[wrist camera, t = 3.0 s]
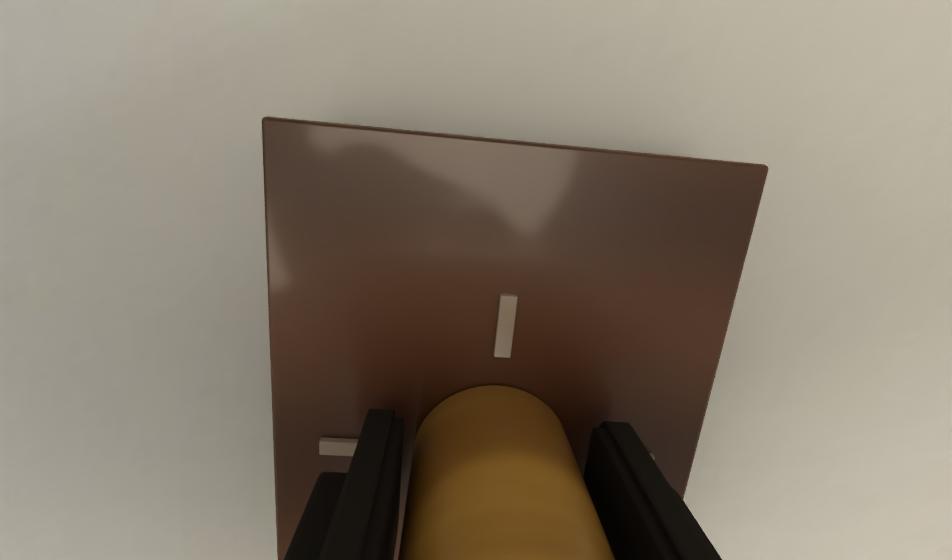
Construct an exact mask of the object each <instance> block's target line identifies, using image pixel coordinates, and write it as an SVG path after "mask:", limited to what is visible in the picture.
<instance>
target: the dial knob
mask: <svg viewBox="0 0 952 560" xmlns="http://www.w3.org/2000/svg"><path fill="white" fill-rule="evenodd" d="M398 560H615V557H614V555H613V552H612V550H611V547H610V545H609V542H608V540H607V537H606V535H605V532H604V530H603V527H602V524H601V522H600V519H599V517H598V514H597V512H596V509H595V507H594V504H593V502H592V499H591V497H590V494H589V492H588V489H587V487H586V484H585V482H584V479H583V477H582V474H581V471H580V469H579V466H578V464H577V461H576V459H575V456H574V454H573V451H572V449H571V446H570V444H569V441H568V439H567V436H566V434H565V431H564V429H563V426H562V424H561V422H560V420H559V419H558V417H557V416H556V414H555V413H554V412H553V410H552V409H551V408H550V407H549V406H548V405H546V404H545V403H544V402H543V401H541V400H540V399H539V398H537V397H535V396H533V395H532V394H530V393H528V392H525V391H522V390H520V389H516V388H512V387H508V386H499V385H487V386H479V387H474V388H470V389H466V390H464V391H461V392H458V393H456V394H454V395H452V396H450V397H448V398H447V399H445V400H444V401H443V402H441V403H440V404H439V405H437V406H436V407H435V408H434V409H433V410H432V411H431V412H430V413H429V414H428V416H427V417H426V418H425V419H424V421H423V423H422V424H421V426H420V428H419V430H418V432H417V434H416V438H415V441H414V447H413V454H412V461H411V469H410V476H409V483H408V491H407V498H406V505H405V513H404V520H403V527H402V534H401V542H400V549H399V556H398Z"/></svg>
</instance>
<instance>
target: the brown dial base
mask: <svg viewBox="0 0 952 560" xmlns="http://www.w3.org/2000/svg"><path fill="white" fill-rule="evenodd" d="M262 139H263V167H264V194H265V222H266V249H267V277H268V304H269V332H270V360H271V387H272V415H273V442H274V470H275V498H276V525H277V553H278V560H284V558H285V555H286V553H287V550H288V548H289V546H290V543H291V541H292V538H293V536H294V534H295V531H296V529H297V526H298V524H299V522H300V519H301V517H302V514H303V512H304V510H305V507H306V505H307V502H308V500H309V498H310V495H311V493H312V490H313V488H314V486H315V483H316V481H317V479H318V477H319V475H320V473H322V472H342V473H348V470H349V467H350V464H351V461H352V458H353V455H354V452H355V449H356V446H357V443H358V440H359V437H360V434H361V430H362V427H363V424H364V421H365V418H366V415H367V412H368V410H369V409H386V410H395V417H404V430H403V449H402V467H401V486H400V505H399V522H398V532H397V540H396V547H395V553H394V560H398V556H399V549H400V542H401V534H402V527H403V520H404V513H405V505H406V498H407V491H408V483H409V476H410V469H411V461H412V454H413V447H414V441H415V438H416V434H417V432H418V430H419V428H420V426H421V424H422V423H423V421H424V419H425V418H426V417H427V416H428V414H429V413H430V412H431V411H432V410H433V409H434V408H435V407H436V406H437V405H439V404H440V403H441V402H443V401H444V400H445V399H447V398H448V397H450V396H452V395H454V394H456V393H458V392H461V391H464V390H466V389H470V388H474V387H479V386H487V385H499V386H508V387H512V388H516V389H520V390H522V391H525V392H528V393H530V394H532V395H533V396H535V397H537V398H539V399H540V400H541V401H543V402H544V403H545V404H546V405H548V406H549V407H550V408H551V409H552V410H553V412H554V413H555V414H556V416H557V417H558V419H559V420H560V422H561V424H562V426H563V429H564V431H565V434H566V436H567V439H568V441H569V444H570V446H571V449H572V451H573V454H574V456H575V459H576V461H577V464H578V466H579V469H580V471H581V474H582V477H583V475H584V469H585V464H586V459H587V453H588V448H589V442H590V437H591V432H592V429H593V428H594V427H599V426H600V424H601V422H603V421H612V422H627V423H629V424H630V425H631V426H632V427H633V429H634V430H635V432H636V433H637V435H638V437H639V438H640V440H641V441H642V443H643V444H644V446H645V447H646V449H647V450H648V452H649V454H650V455H651V457H652V458H653V460H654V461H655V463H656V464H657V466H658V467H659V469H660V470H661V472H662V474H663V475H664V477H665V478H666V480H667V481H668V483H669V484H670V486H671V487H672V488H673V489H675V490H676V492H677V493H678V494H679V495H680V497H681V498H682V500H683V498H684V494H685V490H686V486H687V482H688V478H689V474H690V471H691V467H692V463H693V459H694V455H695V451H696V447H697V443H698V440H699V436H700V432H701V428H702V424H703V420H704V416H705V413H706V409H707V405H708V401H709V397H710V393H711V389H712V385H713V382H714V378H715V374H716V370H717V366H718V362H719V358H720V354H721V351H722V347H723V343H724V339H725V335H726V331H727V327H728V324H729V320H730V316H731V312H732V308H733V304H734V300H735V296H736V293H737V289H738V285H739V281H740V277H741V273H742V269H743V265H744V262H745V258H746V254H747V250H748V246H749V242H750V238H751V235H752V231H753V227H754V223H755V219H756V215H757V211H758V207H759V204H760V200H761V196H762V192H763V188H764V184H765V180H766V176H767V173H768V167H767V166H766V165H764V164H753V163H743V162H733V161H722V160H712V159H701V158H691V157H681V156H670V155H660V154H650V153H639V152H629V151H619V150H608V149H598V148H587V147H577V146H567V145H556V144H546V143H536V142H525V141H515V140H505V139H494V138H484V137H474V136H463V135H453V134H442V133H432V132H422V131H411V130H401V129H391V128H380V127H370V126H360V125H349V124H339V123H328V122H318V121H308V120H297V119H287V118H277V117H264V118H263V119H262Z"/></svg>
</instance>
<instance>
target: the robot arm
mask: <svg viewBox="0 0 952 560" xmlns="http://www.w3.org/2000/svg"><path fill="white" fill-rule="evenodd" d="M403 430H404V417H395V410H386V409H369V410H368V412H367V415H366V418H365V421H364V424H363V427H362V430H361V434H360V437H359V440H358V443H357V446H356V449H355V452H354V455H353V458H352V461H351V464H350V467H349V470H348V473H342V472H322V473H320V475H319V477H318V479H317V481H316V483H315V486H314V488H313V490H312V493H311V495H310V498H309V500H308V502H307V505H306V507H305V510H304V512H303V514H302V517H301V519H300V522H299V524H298V526H297V529H296V531H295V534H294V536H293V538H292V541H291V543H290V546H289V548H288V550H287V553H286V555H285V558H284V560H394V553H395V547H396V540H397V532H398V522H399V505H400V486H401V467H402V449H403ZM583 479H584V482H585V484H586V487H587V489H588V492H589V494H590V497H591V499H592V502H593V504H594V507H595V509H596V512H597V514H598V517H599V519H600V522H601V524H602V527H603V530H604V532H605V535H606V537H607V540H608V542H609V545H610V547H611V550H612V552H613V555H614V557H615V560H722V559H721V557H720V556H719V554H718V553H717V551H716V550H715V548H714V547H713V545H712V544H711V542H710V541H709V539H708V538H707V536H706V535H705V533H704V532H703V530H702V529H701V527H700V526H699V524H698V522H697V521H696V519H695V518H694V516H693V515H692V513H691V512H690V510H689V509H688V507H687V506H686V504H685V503H684V501H683V500H682V498H681V497H680V495H679V494H678V493H677V492H676V490H675V489H673V488H672V487H671V486H670V484H669V483H668V481H667V480H666V478H665V477H664V475H663V474H662V472H661V470H660V469H659V467H658V466H657V464H656V463H655V461H654V460H653V458H652V457H651V455H650V454H649V452H648V450H647V449H646V447H645V446H644V444H643V443H642V441H641V440H640V438H639V437H638V435H637V433H636V432H635V430H634V429H633V427H632V426H631V425H630V424H629V423H627V422H612V421H603V422H601V424H600V426H599V427H594V428H593V429H592V432H591V437H590V442H589V448H588V453H587V459H586V464H585V469H584V475H583Z"/></svg>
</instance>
